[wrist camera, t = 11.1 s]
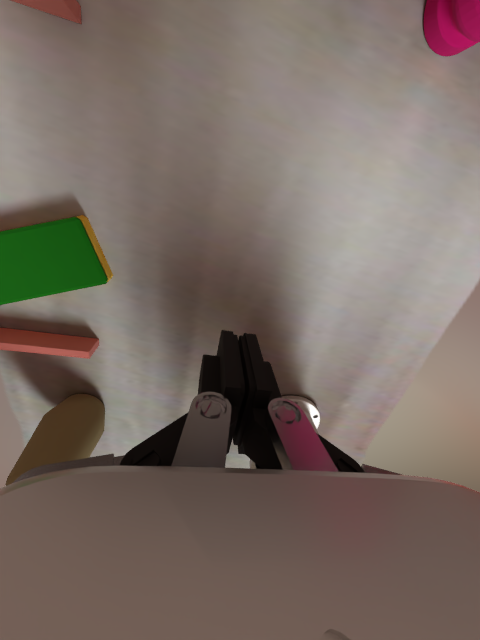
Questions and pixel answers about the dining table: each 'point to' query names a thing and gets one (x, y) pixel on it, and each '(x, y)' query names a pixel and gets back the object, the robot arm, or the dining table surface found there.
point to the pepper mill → (451, 25)
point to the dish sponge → (50, 259)
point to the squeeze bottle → (63, 434)
